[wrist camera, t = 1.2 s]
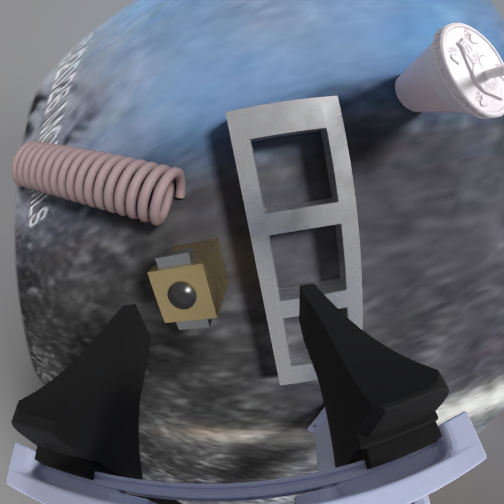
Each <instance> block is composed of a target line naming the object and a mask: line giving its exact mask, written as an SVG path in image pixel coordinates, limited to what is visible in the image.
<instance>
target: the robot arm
mask: <svg viewBox="0 0 504 504" xmlns="http://www.w3.org/2000/svg"><path fill="white" fill-rule="evenodd" d="M299 321H300V325H301V330H302V334H303V339H304V342H305V345H306V347H307V350H308V353H309V356H310V359H311V361H312V364H313V367H314V370H315V373H316V375H317V378H318V381H319V384H320V388H321V392H322V396H323V401H324V405H325V407H324V408H323V409H322V411H321V412H320V413H319V414H318V416H317V417H316V418H315V419H314V420H313V422H312V423H311V424H310V425H309V426H308V428H307V430H308V431H309V432H314V439H315V448H316V457H317V465H318V469H319V471H320V472H315V473H310V474H305V475H300V476H294V477H288V478H281V479H274V480H266V481H256V482H244V483H225V484H190V483H170V482H158V481H149V480H141V479H142V471H141V463H140V454H139V403H140V396H141V390H142V385H143V380H144V375H145V370H146V365H147V360H148V355H149V343H150V335H149V333H148V331H147V328H146V326H145V324H144V322H143V320H142V318H141V316H140V313H139V311H138V309H137V307H136V305H135V304H134V305H124V306H123V307H122V308H121V309H120V310H119V311H118V312H117V313H116V315H115V316H114V317H113V318H112V319H111V321H110V322H109V323H108V324H107V325H106V327H105V328H104V329H103V330H102V331H101V333H100V334H99V335H98V336H97V337H96V339H95V340H94V341H93V342H92V343H91V344H90V345H89V346H88V347H87V349H86V350H85V351H84V352H83V353H82V354H81V355H80V356H79V357H78V358H77V359H76V360H75V361H74V362H73V363H72V364H71V365H70V366H69V367H68V368H67V369H65V370H64V371H63V372H62V373H60V374H59V375H58V376H57V377H56V378H54V379H53V380H52V381H50V382H49V383H48V384H46V385H45V386H43V387H42V388H40V389H39V390H37V391H36V392H34V393H32V394H30V395H29V396H27V397H25V398H24V399H22V400H19V402H18V405H17V407H16V410H15V413H14V416H13V419H12V425H13V427H14V428H15V429H16V430H17V431H18V432H20V433H21V434H22V435H23V436H25V437H26V438H27V439H29V440H30V441H32V442H33V443H34V444H36V445H37V450H34V449H32V448H30V447H28V446H25V445H23V444H20V443H18V442H16V443H15V446H14V450H13V454H12V458H11V463H10V468H9V472H8V476H7V482H6V483H7V484H8V485H9V486H11V487H13V488H15V489H16V490H18V491H20V492H22V493H23V494H26V495H27V496H29V497H31V498H33V499H35V500H37V501H39V502H41V503H43V504H157V503H154V502H151V501H149V500H147V499H145V498H140V497H135V496H131V495H127V494H132V495H138V496H145V497H152V498H161V499H171V500H185V501H242V500H255V499H266V498H274V497H282V496H289V495H295V494H301V493H306V492H310V493H306V494H302V495H298V496H296V497H295V498H294V500H295V503H294V504H430V500H429V496H428V495H429V494H431V493H432V492H434V491H436V490H438V489H440V488H441V487H443V486H445V485H446V484H448V483H450V482H452V481H453V480H455V479H457V478H458V477H460V476H461V475H463V474H464V473H466V472H468V471H469V470H471V469H472V468H473V467H475V466H476V465H478V464H479V463H481V462H482V461H484V460H485V459H486V457H487V456H486V454H485V451H484V449H483V447H482V444H481V442H480V440H479V438H478V435H477V433H476V431H475V429H474V427H473V425H472V423H471V421H470V418H469V416H468V414H467V412H462V413H461V414H459V415H457V416H455V417H453V418H452V419H450V420H448V421H446V422H444V423H443V424H441V425H440V426H437V423H436V421H437V420H438V416H437V414H436V412H435V411H436V410H437V409H438V407H439V406H440V405H441V404H442V403H443V401H444V400H445V399H446V397H447V396H448V393H449V389H448V387H447V385H446V383H445V381H444V379H443V377H442V376H441V374H440V373H439V371H438V370H436V369H433V368H431V367H428V366H425V365H423V364H420V363H417V362H415V361H413V360H411V359H409V358H407V357H404V356H402V355H400V354H399V353H397V352H395V351H393V350H391V349H390V348H388V347H386V346H385V345H383V344H381V343H380V342H378V341H377V340H375V339H374V338H372V337H371V336H370V335H368V334H367V333H366V332H364V331H363V330H362V329H360V328H359V327H358V326H357V325H356V324H354V323H353V322H352V321H351V320H350V319H349V318H348V317H346V316H345V315H344V314H343V313H342V312H341V311H340V310H339V309H338V308H337V307H336V306H335V305H334V304H333V303H332V302H331V301H330V300H329V299H328V298H327V297H326V296H325V295H324V294H323V292H322V291H321V290H320V289H319V288H318V287H317V286H316V285H315V284H314V283H312V284H305V285H300V297H299ZM316 490H317V491H316ZM311 491H313V492H311Z"/></svg>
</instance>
